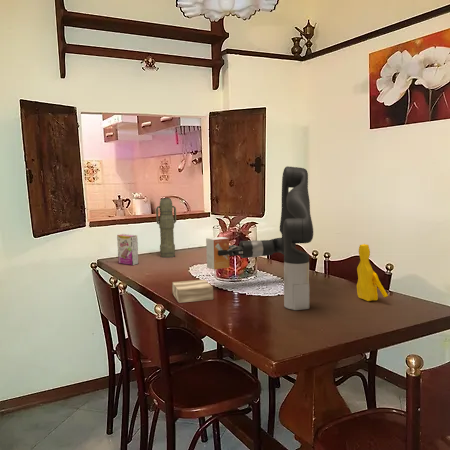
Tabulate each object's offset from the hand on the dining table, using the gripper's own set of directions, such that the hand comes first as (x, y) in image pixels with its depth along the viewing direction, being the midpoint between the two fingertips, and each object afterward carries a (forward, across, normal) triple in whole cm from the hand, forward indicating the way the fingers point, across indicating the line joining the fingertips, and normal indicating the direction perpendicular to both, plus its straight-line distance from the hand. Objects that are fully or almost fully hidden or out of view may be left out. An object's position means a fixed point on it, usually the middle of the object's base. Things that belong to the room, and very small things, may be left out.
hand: (215, 251), depth 200 cm
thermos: (+8, -82, +15) cm, 83 cm away
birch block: (+13, +10, +16) cm, 23 cm away
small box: (-1, 0, +7) cm, 7 cm away
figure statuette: (-51, +38, +17) cm, 66 cm away
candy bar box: (+33, -68, +15) cm, 77 cm away
